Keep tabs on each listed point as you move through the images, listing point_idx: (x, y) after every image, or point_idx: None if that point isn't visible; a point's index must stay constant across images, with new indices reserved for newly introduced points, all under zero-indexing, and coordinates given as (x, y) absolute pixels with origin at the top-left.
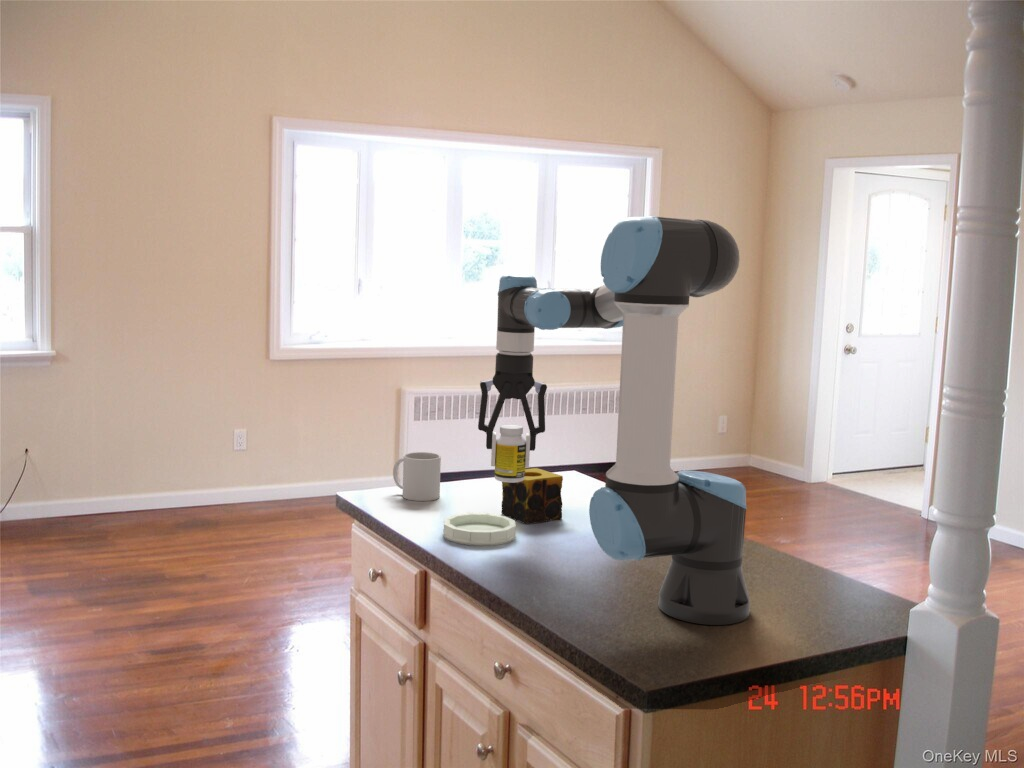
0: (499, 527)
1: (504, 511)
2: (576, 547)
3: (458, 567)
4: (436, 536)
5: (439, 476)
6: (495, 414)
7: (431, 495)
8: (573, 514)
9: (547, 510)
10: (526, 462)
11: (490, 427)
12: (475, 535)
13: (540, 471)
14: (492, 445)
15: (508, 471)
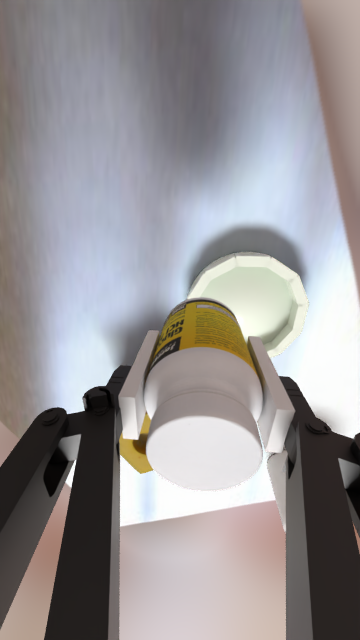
0: None
1: None
2: (95, 252)
3: (313, 100)
4: (310, 301)
5: (277, 488)
6: (335, 534)
7: (282, 457)
8: None
9: None
10: (153, 337)
11: (321, 445)
12: (260, 255)
13: (134, 457)
14: (277, 376)
15: (210, 306)
